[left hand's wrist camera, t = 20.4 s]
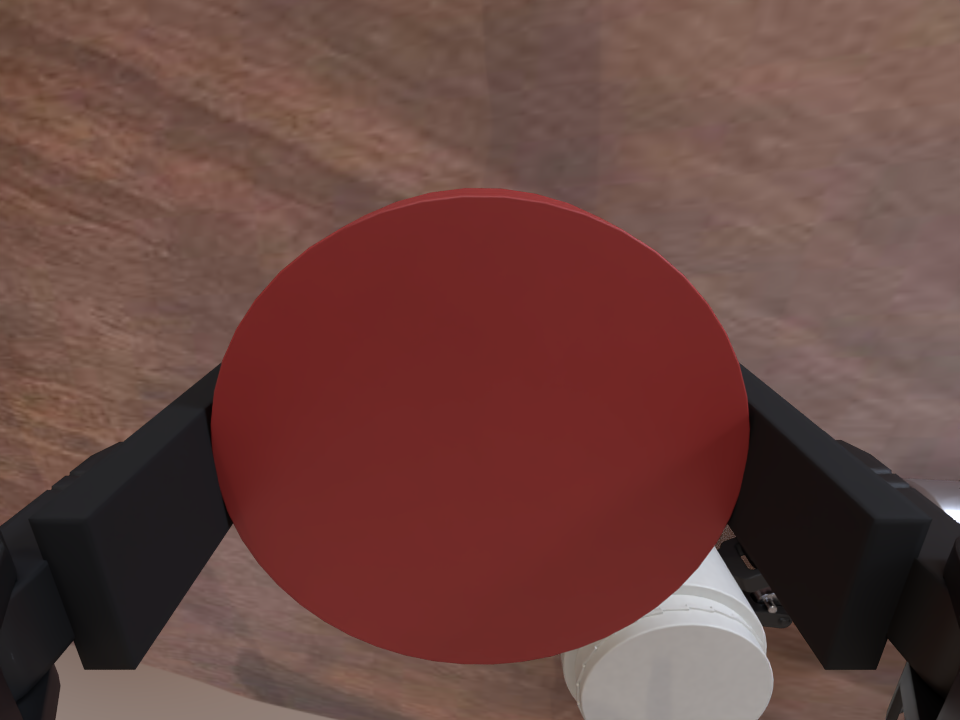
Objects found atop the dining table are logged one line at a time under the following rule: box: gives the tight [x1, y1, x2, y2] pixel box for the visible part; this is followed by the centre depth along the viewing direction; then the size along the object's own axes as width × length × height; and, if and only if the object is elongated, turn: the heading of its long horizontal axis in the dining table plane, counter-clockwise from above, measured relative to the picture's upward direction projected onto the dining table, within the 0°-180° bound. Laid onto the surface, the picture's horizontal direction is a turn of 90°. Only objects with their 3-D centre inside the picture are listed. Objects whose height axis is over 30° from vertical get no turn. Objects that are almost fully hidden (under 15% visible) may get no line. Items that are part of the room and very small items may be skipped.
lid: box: [211, 188, 750, 664], centre depth 11 cm, size 10×10×2 cm
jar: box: [560, 546, 773, 720], centre depth 31 cm, size 9×9×17 cm
